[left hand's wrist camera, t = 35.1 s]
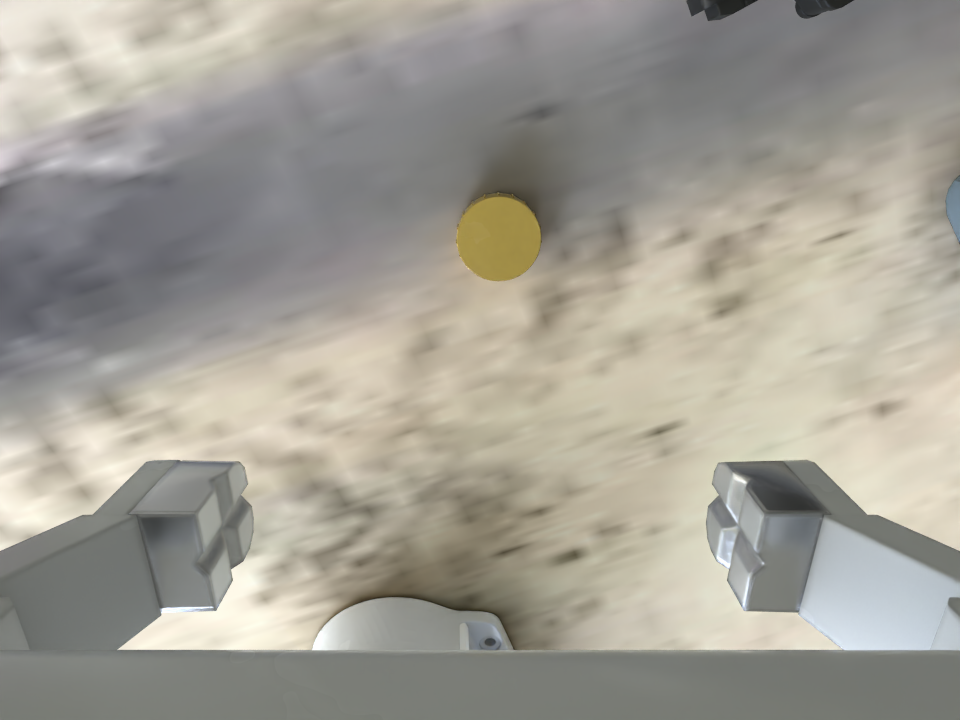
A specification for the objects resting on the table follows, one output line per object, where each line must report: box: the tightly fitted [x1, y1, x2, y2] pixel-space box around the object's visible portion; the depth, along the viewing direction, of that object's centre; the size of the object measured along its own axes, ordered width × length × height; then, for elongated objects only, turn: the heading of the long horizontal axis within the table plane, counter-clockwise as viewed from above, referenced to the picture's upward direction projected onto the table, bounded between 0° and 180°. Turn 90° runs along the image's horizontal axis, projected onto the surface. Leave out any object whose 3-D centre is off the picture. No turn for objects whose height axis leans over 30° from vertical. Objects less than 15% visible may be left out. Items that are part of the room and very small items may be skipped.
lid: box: [456, 191, 542, 281], centre depth 35 cm, size 5×5×2 cm
